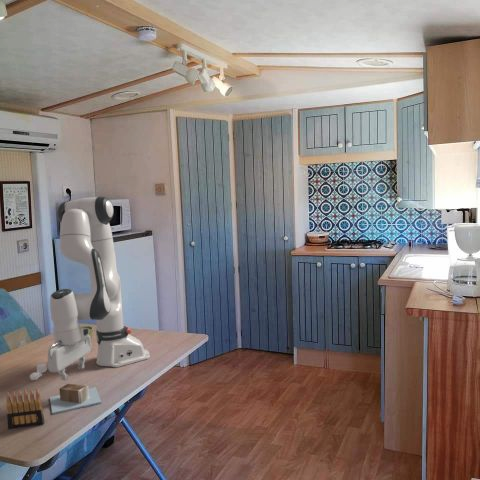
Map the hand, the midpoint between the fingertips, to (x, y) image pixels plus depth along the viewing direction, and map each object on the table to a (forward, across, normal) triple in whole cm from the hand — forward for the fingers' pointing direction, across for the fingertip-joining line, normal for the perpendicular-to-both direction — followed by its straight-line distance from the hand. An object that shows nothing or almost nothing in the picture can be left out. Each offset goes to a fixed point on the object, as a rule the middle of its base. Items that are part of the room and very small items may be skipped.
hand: (73, 374), depth 174 cm
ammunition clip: (+9, -20, +5) cm, 22 cm away
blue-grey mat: (+10, -1, 0) cm, 10 cm away
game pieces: (+9, +17, +30) cm, 36 cm away
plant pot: (+10, +52, +33) cm, 62 cm away
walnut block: (+7, 0, +5) cm, 8 cm away
